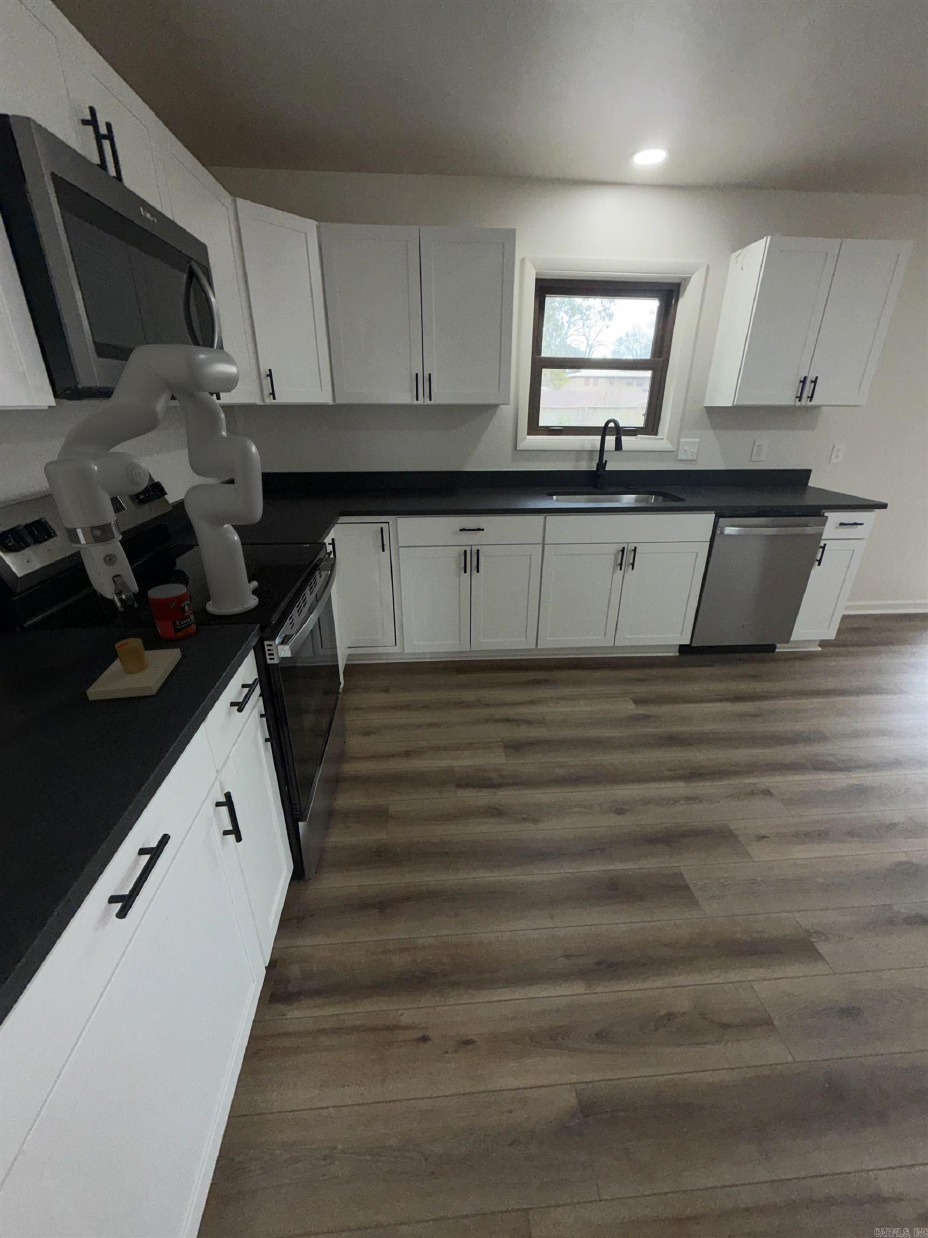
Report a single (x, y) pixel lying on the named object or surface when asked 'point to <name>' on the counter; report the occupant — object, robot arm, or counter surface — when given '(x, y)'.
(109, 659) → the counter surface
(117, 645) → the tap handle
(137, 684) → the plate
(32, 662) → the counter surface
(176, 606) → the canned food
